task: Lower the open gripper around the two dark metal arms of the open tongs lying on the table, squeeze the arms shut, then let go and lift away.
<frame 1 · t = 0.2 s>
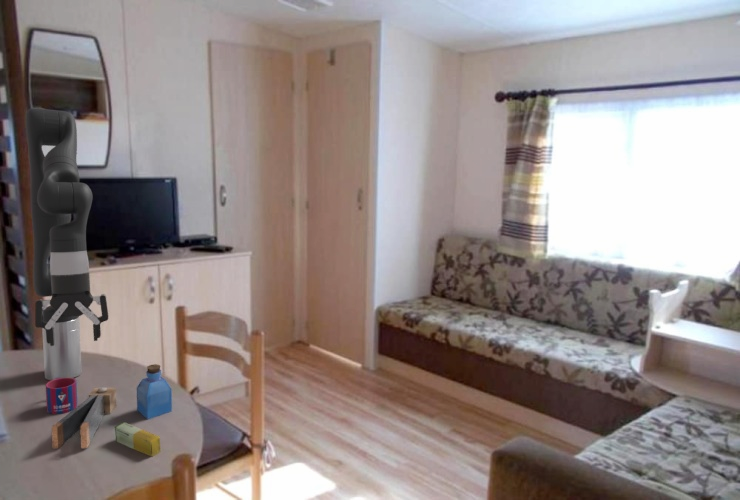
hand: (74, 342, 118), 22 cm above the table, tool pointing down, fingers open, 8 cm apart
medication box: (137, 448, 117), on the table
tong arm 1: (76, 420, 122), point 3 cm above the table, hinge at 8.0°
perfume bottle: (154, 411, 134), on the table
tong arm 2: (93, 419, 122), point 3 cm above the table, hinge at 8.0°
mug: (62, 406, 134), on the table
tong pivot: (103, 409, 133), on the table
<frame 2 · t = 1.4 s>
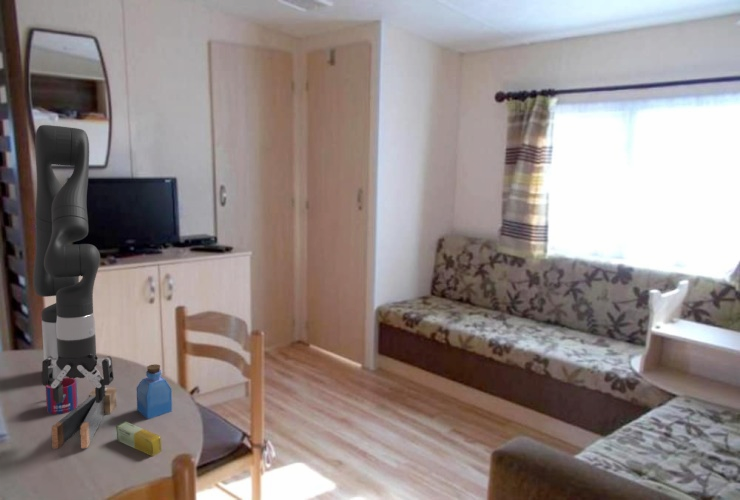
hand: (79, 401, 118), 9 cm above the table, tool pointing down, fingers open, 8 cm apart
nothing on the table moved.
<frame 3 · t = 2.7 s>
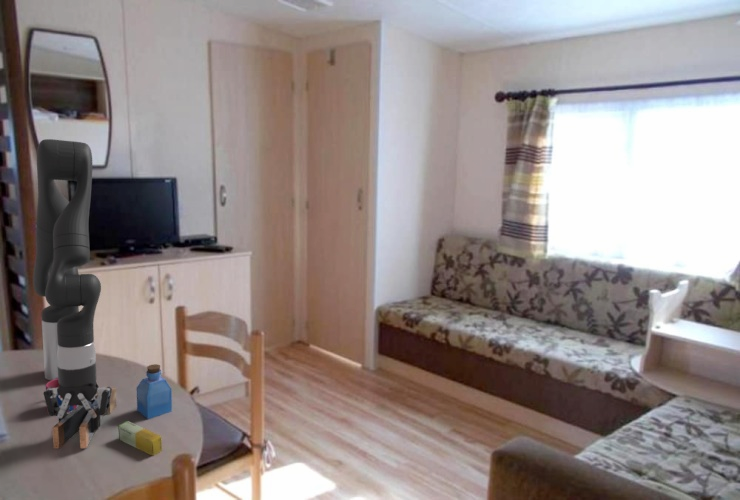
hand: (80, 430, 119), 2 cm above the table, tool pointing down, fingers open, 5 cm apart
tong arm 1: (76, 420, 122), point 3 cm above the table, hinge at 7.2°, touching gripper
tong arm 2: (92, 420, 122), point 3 cm above the table, hinge at 7.3°, touching gripper
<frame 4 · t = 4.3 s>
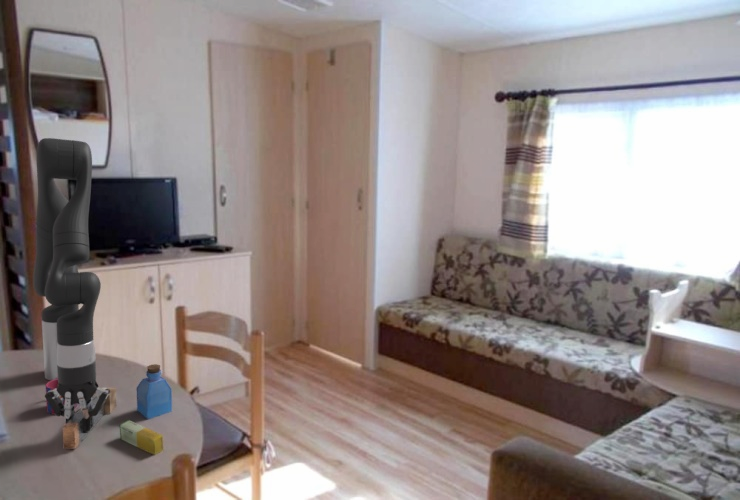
hand: (79, 431, 119), 2 cm above the table, tool pointing down, fingers closed
tong arm 1: (81, 420, 122), point 3 cm above the table, hinge at -0.3°, touching tong arm 2
tong arm 2: (87, 420, 122), point 3 cm above the table, hinge at -0.4°, touching tong arm 1
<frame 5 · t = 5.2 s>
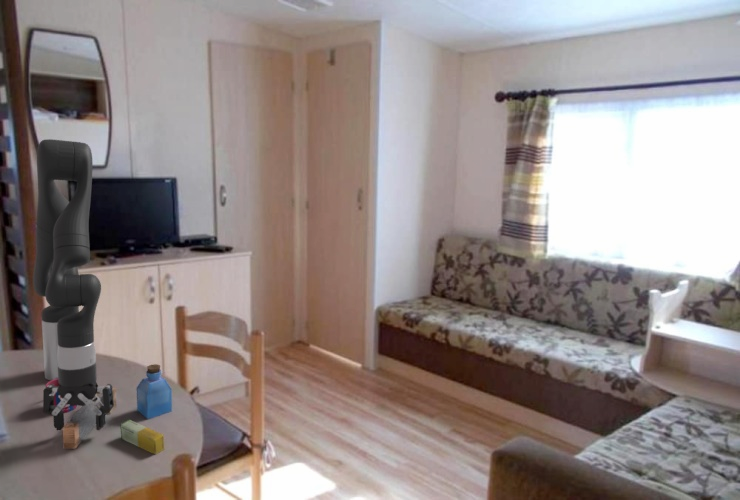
hand: (80, 428, 119), 2 cm above the table, tool pointing down, fingers open, 8 cm apart
tong arm 1: (81, 420, 122), point 3 cm above the table, hinge at -0.3°
tong arm 2: (87, 420, 122), point 3 cm above the table, hinge at -0.3°
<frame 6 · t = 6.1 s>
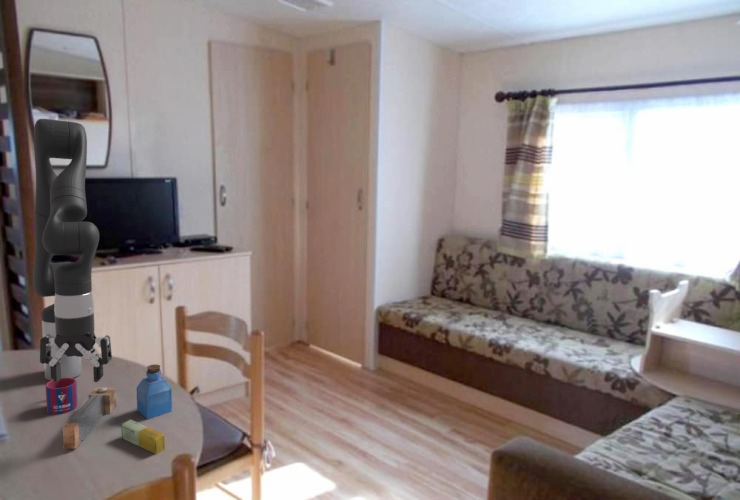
hand: (77, 380, 118), 14 cm above the table, tool pointing down, fingers open, 8 cm apart
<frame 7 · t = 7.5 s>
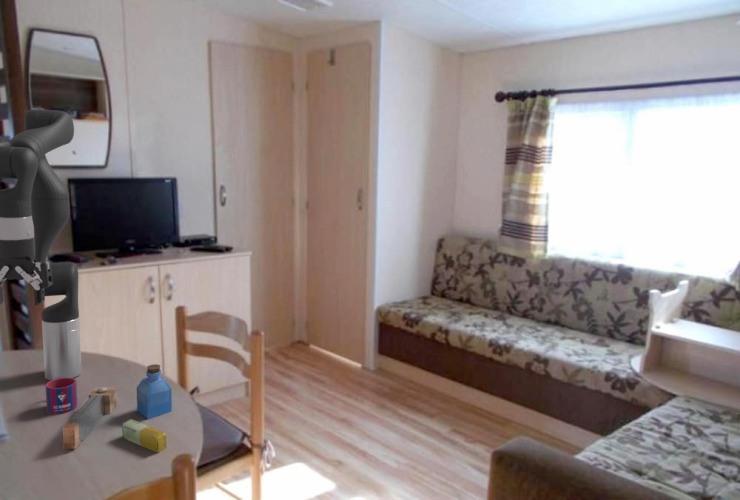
hand: (19, 304, 121), 29 cm above the table, tool pointing down, fingers open, 8 cm apart
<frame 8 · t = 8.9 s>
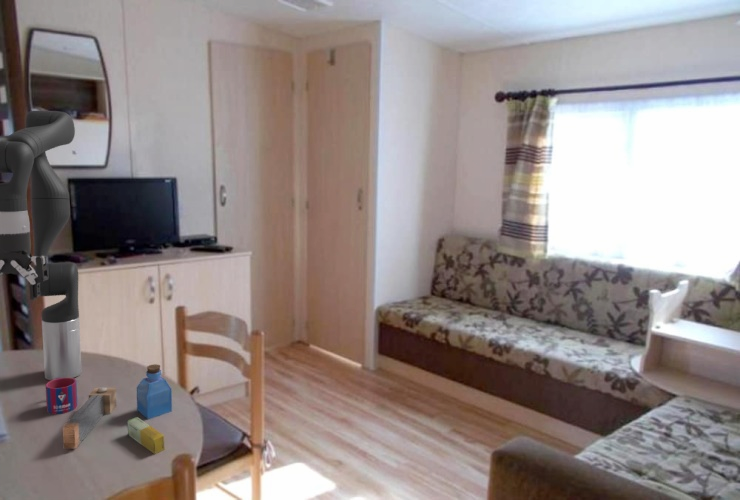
hand: (14, 298, 122), 30 cm above the table, tool pointing down, fingers open, 8 cm apart
at the end: tong arm 2 at +0° (first picture: +8°); tong arm 1 at +0° (first picture: +8°) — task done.
